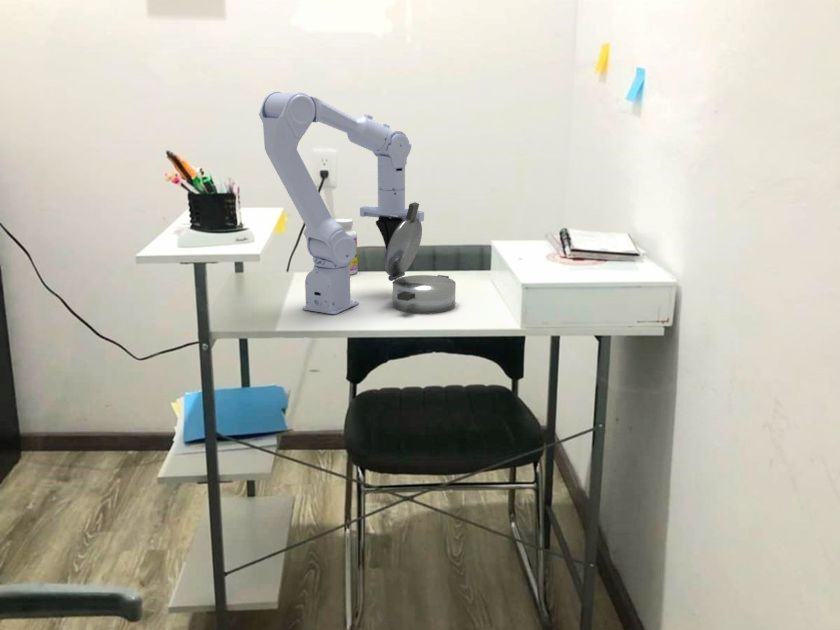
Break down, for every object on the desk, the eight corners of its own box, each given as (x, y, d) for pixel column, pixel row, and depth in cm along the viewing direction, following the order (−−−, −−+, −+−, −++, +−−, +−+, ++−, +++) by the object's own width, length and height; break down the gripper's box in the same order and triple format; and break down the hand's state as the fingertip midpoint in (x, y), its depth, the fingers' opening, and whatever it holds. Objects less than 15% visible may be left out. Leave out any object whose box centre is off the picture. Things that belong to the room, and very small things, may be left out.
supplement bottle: (356, 276, 193) (355, 222, 189) (328, 276, 193) (326, 222, 189) (358, 269, 199) (358, 217, 196) (331, 269, 199) (330, 217, 196)
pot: (431, 320, 158) (432, 296, 157) (374, 311, 164) (374, 288, 163) (470, 298, 174) (471, 276, 173) (417, 291, 180) (417, 269, 179)
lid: (401, 209, 159) (396, 207, 159) (383, 286, 165) (378, 283, 165) (431, 200, 170) (426, 198, 170) (412, 272, 176) (408, 270, 177)
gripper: (430, 188, 171) (430, 252, 175) (371, 184, 177) (371, 245, 181) (415, 192, 165) (415, 258, 169) (354, 188, 171) (355, 251, 175)
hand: (391, 252), depth 174 cm, fingers closed
